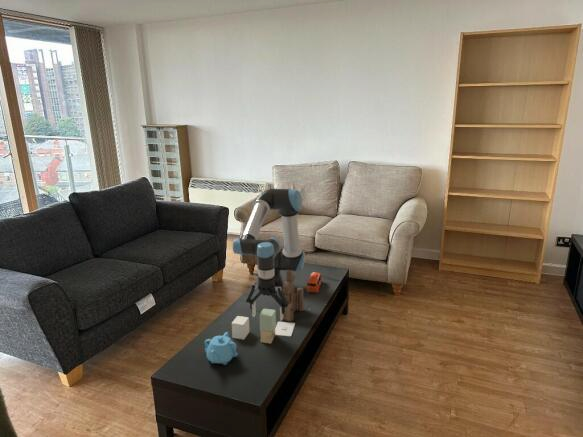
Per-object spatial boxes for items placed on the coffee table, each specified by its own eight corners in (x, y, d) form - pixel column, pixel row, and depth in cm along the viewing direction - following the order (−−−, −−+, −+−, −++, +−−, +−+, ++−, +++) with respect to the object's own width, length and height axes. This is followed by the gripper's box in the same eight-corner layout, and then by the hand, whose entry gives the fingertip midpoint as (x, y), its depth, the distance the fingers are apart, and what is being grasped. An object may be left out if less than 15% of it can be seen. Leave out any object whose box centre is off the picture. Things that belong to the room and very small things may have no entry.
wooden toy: (290, 322, 207) (289, 277, 200) (279, 319, 210) (278, 275, 203) (304, 309, 220) (304, 266, 213) (293, 306, 223) (293, 264, 216)
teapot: (230, 348, 187) (228, 326, 184) (241, 364, 174) (239, 341, 172) (203, 357, 181) (201, 334, 178) (213, 373, 169) (210, 349, 166)
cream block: (238, 330, 201) (237, 315, 199) (249, 331, 199) (248, 317, 197) (232, 337, 194) (231, 323, 192) (244, 339, 193) (243, 324, 191)
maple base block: (265, 334, 197) (265, 323, 196) (275, 335, 196) (275, 324, 194) (260, 342, 191) (260, 330, 189) (270, 343, 189) (270, 332, 188)
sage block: (264, 323, 195) (263, 308, 193) (275, 324, 194) (275, 309, 192) (259, 329, 190) (259, 314, 188) (272, 331, 188) (271, 316, 186)
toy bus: (305, 293, 239) (305, 281, 237) (311, 280, 256) (311, 269, 253) (317, 294, 237) (318, 282, 235) (322, 281, 254) (322, 270, 252)
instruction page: (277, 322, 208) (277, 321, 208) (295, 323, 206) (295, 322, 206) (272, 334, 196) (272, 333, 196) (291, 336, 195) (290, 335, 195)
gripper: (237, 276, 184) (240, 318, 190) (290, 282, 178) (291, 325, 184) (243, 270, 191) (246, 310, 197) (294, 275, 184) (295, 316, 191)
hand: (267, 317), depth 190 cm, fingers open, 13 cm apart
